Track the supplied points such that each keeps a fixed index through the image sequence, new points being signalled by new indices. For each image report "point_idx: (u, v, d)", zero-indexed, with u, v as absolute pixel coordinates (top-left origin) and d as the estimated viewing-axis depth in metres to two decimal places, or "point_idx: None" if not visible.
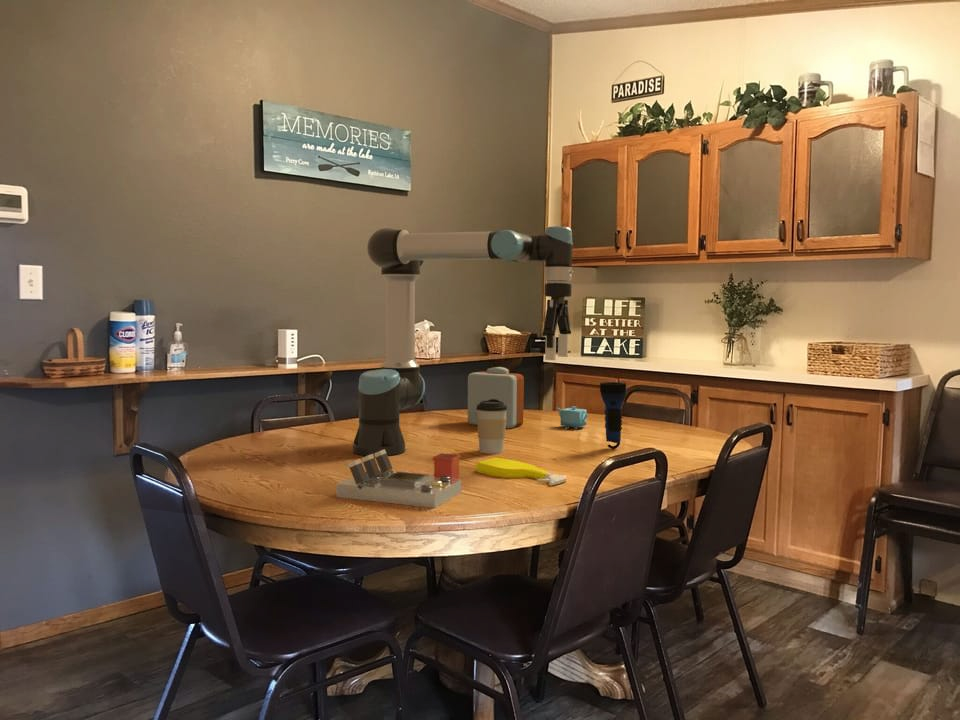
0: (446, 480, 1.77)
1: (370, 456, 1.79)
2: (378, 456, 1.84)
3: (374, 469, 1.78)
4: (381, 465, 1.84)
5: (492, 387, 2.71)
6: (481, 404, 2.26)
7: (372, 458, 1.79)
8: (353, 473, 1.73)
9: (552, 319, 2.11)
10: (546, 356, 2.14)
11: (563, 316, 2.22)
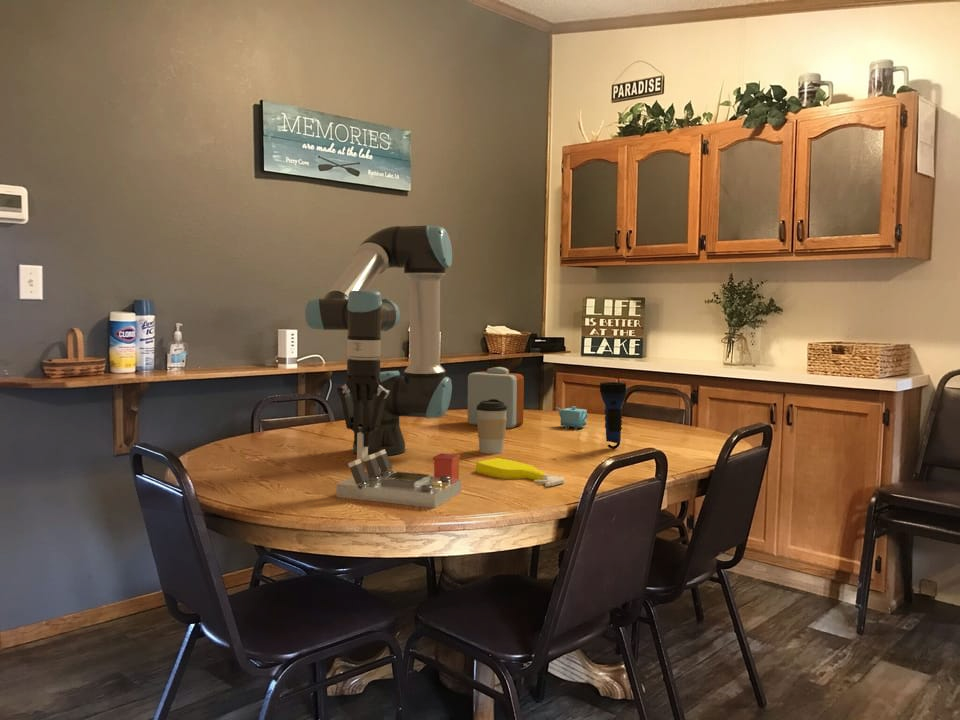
0: (446, 480, 1.77)
1: (371, 456, 1.79)
2: (378, 456, 1.84)
3: (375, 469, 1.78)
4: (381, 465, 1.84)
5: (492, 387, 2.71)
6: (481, 404, 2.26)
7: (373, 457, 1.79)
8: (353, 473, 1.73)
9: None
10: None
11: None
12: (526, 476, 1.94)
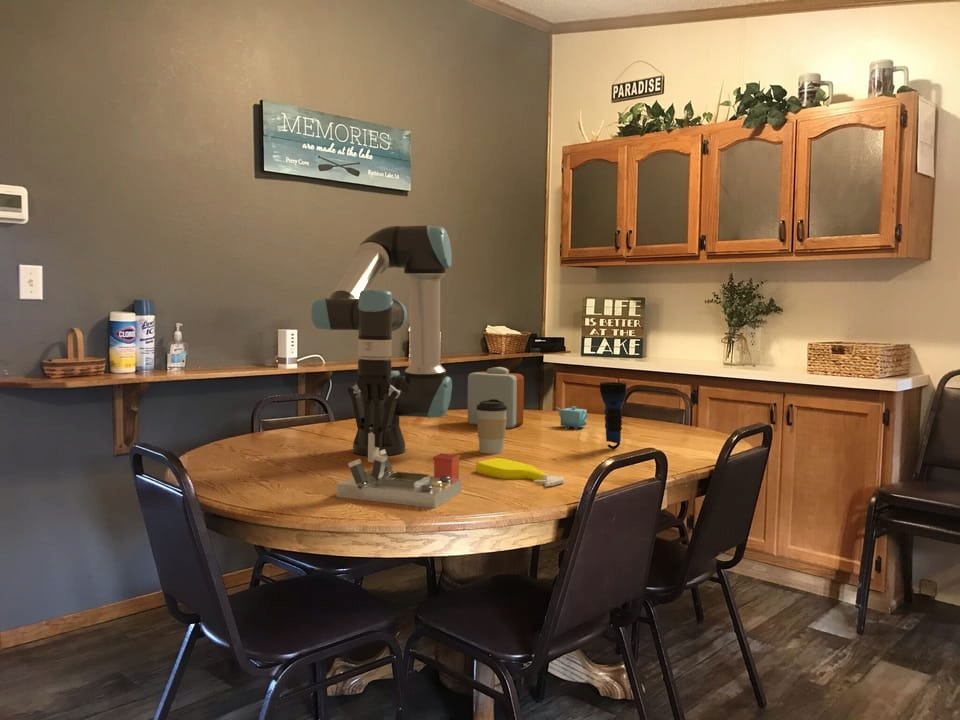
0: (446, 480, 1.77)
1: (384, 458, 1.78)
2: None
3: (380, 472, 1.78)
4: None
5: (492, 387, 2.71)
6: (481, 404, 2.26)
7: (385, 460, 1.78)
8: (353, 473, 1.73)
9: None
10: None
11: None
12: (526, 476, 1.94)
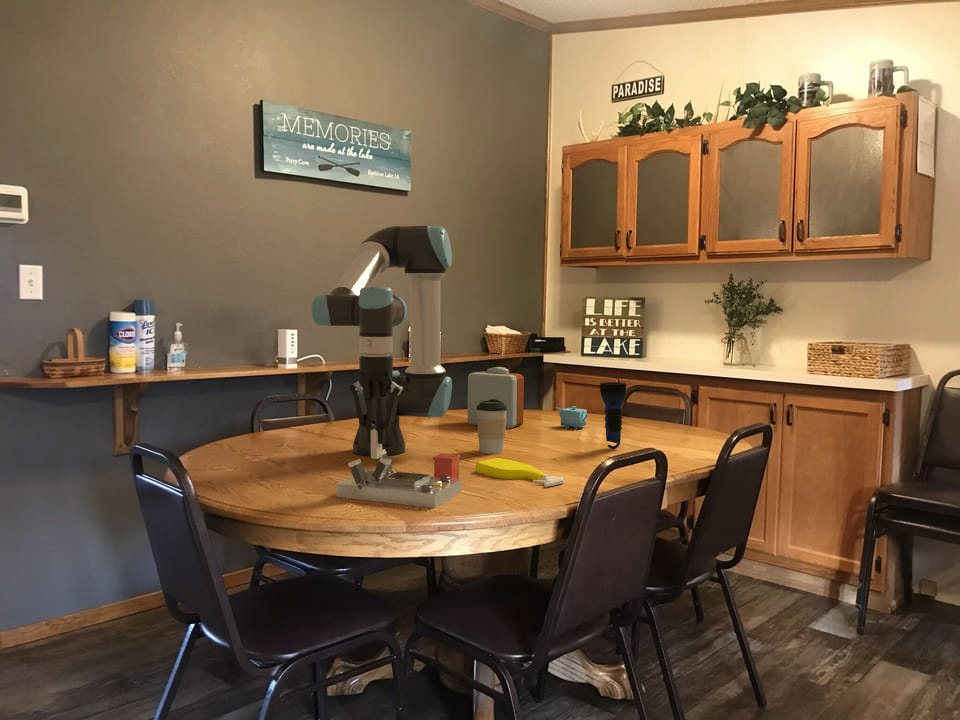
0: (446, 480, 1.77)
1: (388, 462, 1.77)
2: None
3: (382, 473, 1.78)
4: None
5: (492, 387, 2.71)
6: (481, 404, 2.26)
7: (389, 463, 1.78)
8: (353, 473, 1.73)
9: None
10: None
11: None
12: (526, 476, 1.94)
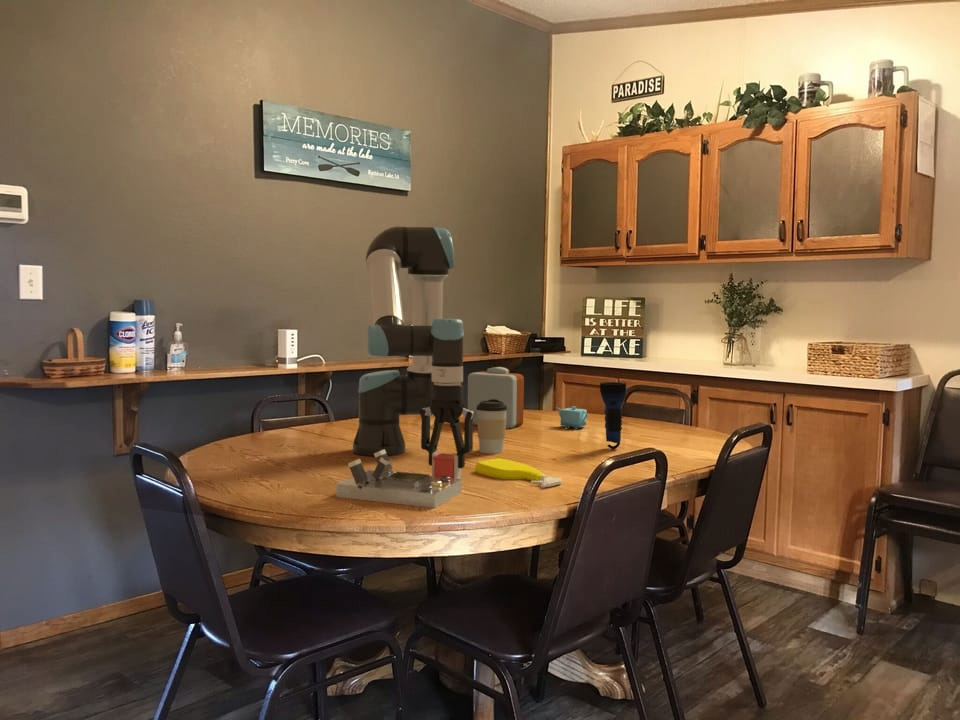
0: (446, 480, 1.77)
1: (388, 462, 1.77)
2: (378, 456, 1.84)
3: (382, 473, 1.78)
4: None
5: (492, 387, 2.71)
6: (481, 404, 2.26)
7: (389, 463, 1.78)
8: (353, 473, 1.73)
9: None
10: None
11: None
12: (524, 477, 1.93)
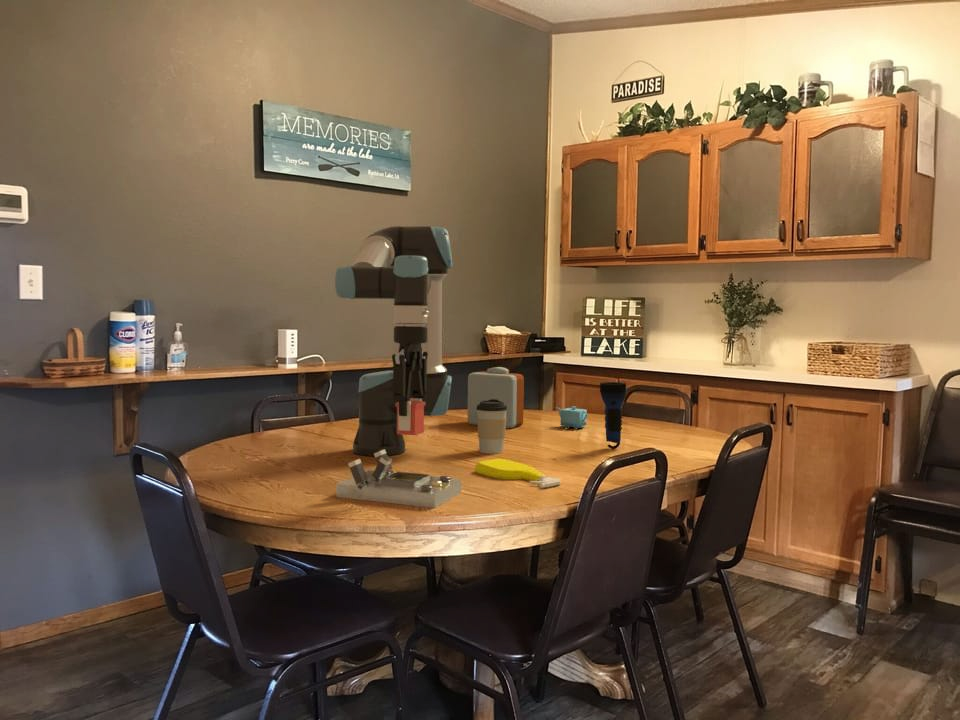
0: (446, 480, 1.77)
1: (388, 462, 1.77)
2: (378, 456, 1.84)
3: (382, 473, 1.78)
4: None
5: (492, 387, 2.71)
6: (481, 404, 2.26)
7: (389, 463, 1.78)
8: (353, 473, 1.73)
9: (401, 381, 1.69)
10: (399, 425, 1.73)
11: (417, 369, 1.76)
12: (524, 477, 1.93)
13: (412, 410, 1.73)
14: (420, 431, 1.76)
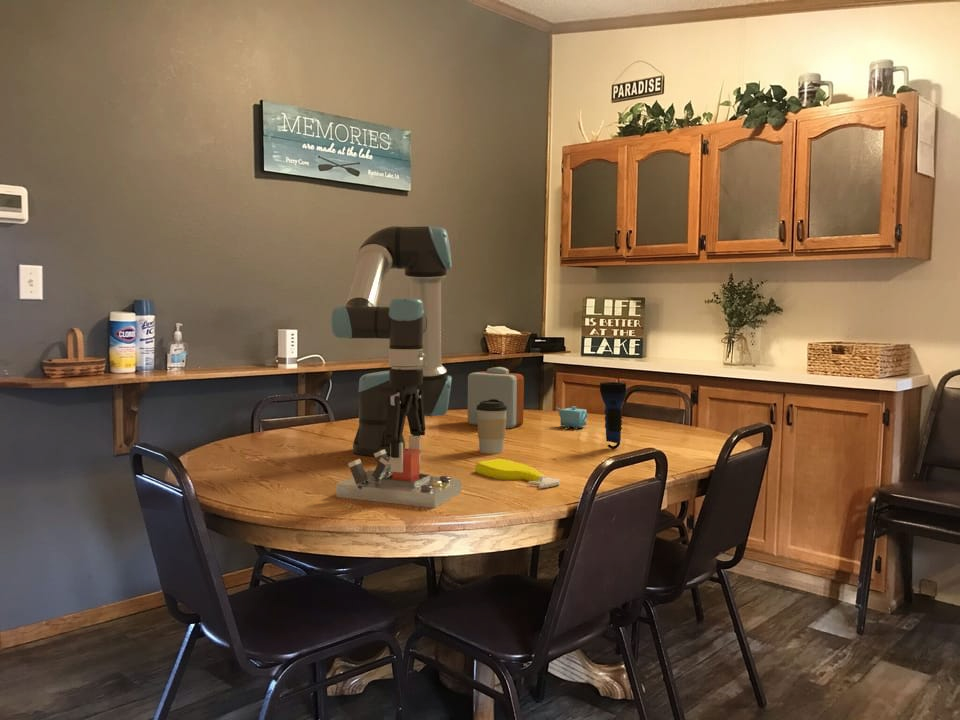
0: (446, 480, 1.77)
1: (388, 462, 1.77)
2: (378, 456, 1.84)
3: (382, 473, 1.78)
4: None
5: (492, 387, 2.71)
6: (481, 404, 2.26)
7: (389, 463, 1.78)
8: (353, 473, 1.73)
9: (394, 423, 1.68)
10: (392, 467, 1.72)
11: (413, 410, 1.77)
12: (523, 477, 1.93)
13: (408, 459, 1.73)
14: None
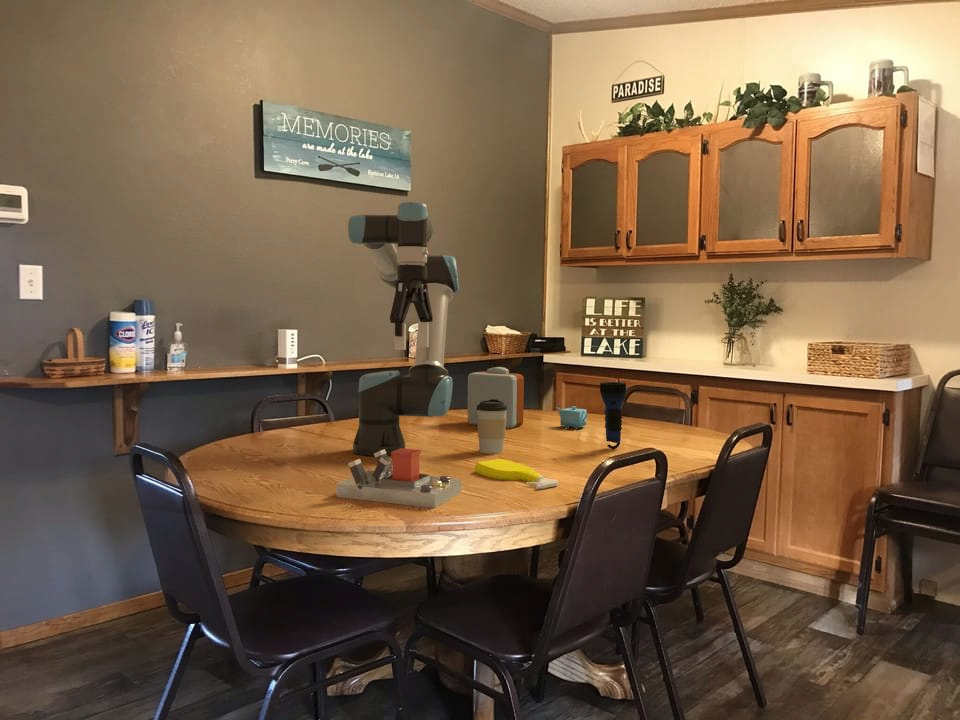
0: (446, 480, 1.77)
1: (388, 462, 1.77)
2: (378, 456, 1.84)
3: (382, 473, 1.78)
4: None
5: (492, 387, 2.71)
6: (481, 404, 2.26)
7: (389, 463, 1.78)
8: (353, 473, 1.73)
9: (400, 304, 1.90)
10: (396, 345, 1.92)
11: (420, 302, 2.01)
12: (522, 478, 1.92)
13: (408, 459, 1.73)
14: None
